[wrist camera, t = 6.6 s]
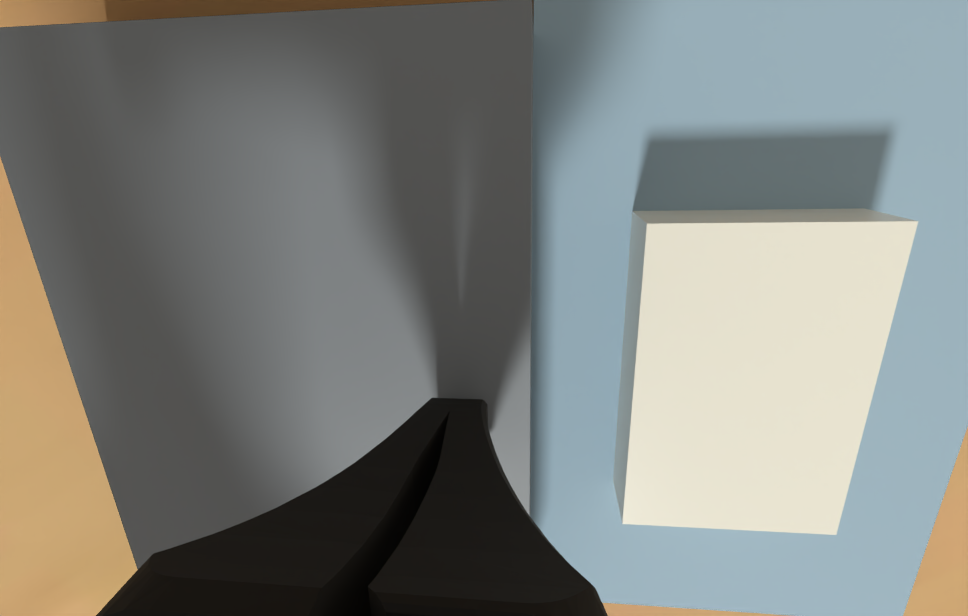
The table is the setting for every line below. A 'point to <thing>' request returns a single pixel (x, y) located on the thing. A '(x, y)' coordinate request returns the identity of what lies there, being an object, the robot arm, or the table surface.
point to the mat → (747, 186)
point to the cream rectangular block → (751, 363)
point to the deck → (277, 240)
